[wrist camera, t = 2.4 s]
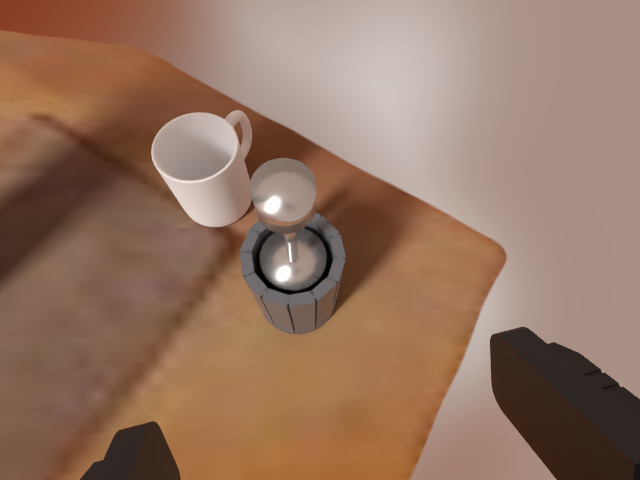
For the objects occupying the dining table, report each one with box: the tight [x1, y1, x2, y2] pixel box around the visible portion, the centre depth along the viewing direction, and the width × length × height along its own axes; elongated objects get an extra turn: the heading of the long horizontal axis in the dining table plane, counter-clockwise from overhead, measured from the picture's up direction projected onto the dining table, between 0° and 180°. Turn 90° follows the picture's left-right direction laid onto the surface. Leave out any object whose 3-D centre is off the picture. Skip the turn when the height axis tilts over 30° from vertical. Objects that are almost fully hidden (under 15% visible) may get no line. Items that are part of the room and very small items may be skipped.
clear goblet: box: [250, 158, 327, 292], centre depth 26 cm, size 5×5×12 cm
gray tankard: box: [240, 213, 346, 334], centre depth 36 cm, size 8×11×12 cm
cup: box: [151, 110, 252, 227], centre depth 42 cm, size 8×12×10 cm
